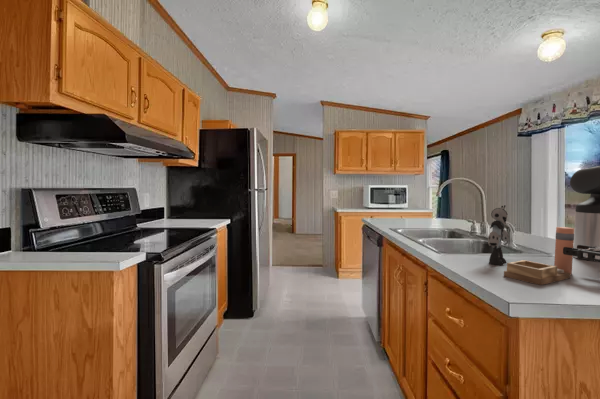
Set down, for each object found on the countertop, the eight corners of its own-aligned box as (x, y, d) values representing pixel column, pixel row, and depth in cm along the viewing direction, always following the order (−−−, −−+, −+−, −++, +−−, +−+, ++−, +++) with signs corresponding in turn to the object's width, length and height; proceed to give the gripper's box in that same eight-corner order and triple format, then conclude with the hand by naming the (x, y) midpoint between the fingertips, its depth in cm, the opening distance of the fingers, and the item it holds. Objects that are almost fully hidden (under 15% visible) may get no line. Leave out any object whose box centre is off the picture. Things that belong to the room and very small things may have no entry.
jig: (533, 270, 110) (533, 257, 110) (569, 277, 101) (570, 264, 101) (503, 276, 102) (504, 262, 102) (540, 285, 94) (541, 270, 93)
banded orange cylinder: (558, 270, 110) (560, 226, 110) (574, 273, 106) (577, 228, 106) (550, 271, 108) (553, 227, 107) (567, 275, 104) (570, 229, 103)
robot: (496, 257, 128) (498, 203, 127) (511, 259, 125) (513, 204, 124) (481, 266, 113) (484, 206, 112) (498, 269, 110) (501, 206, 109)
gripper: (653, 244, 95) (582, 235, 109) (632, 248, 88) (559, 238, 102) (651, 271, 95) (580, 259, 109) (630, 277, 88) (558, 263, 102)
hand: (570, 249), depth 105 cm, fingers open, 8 cm apart
